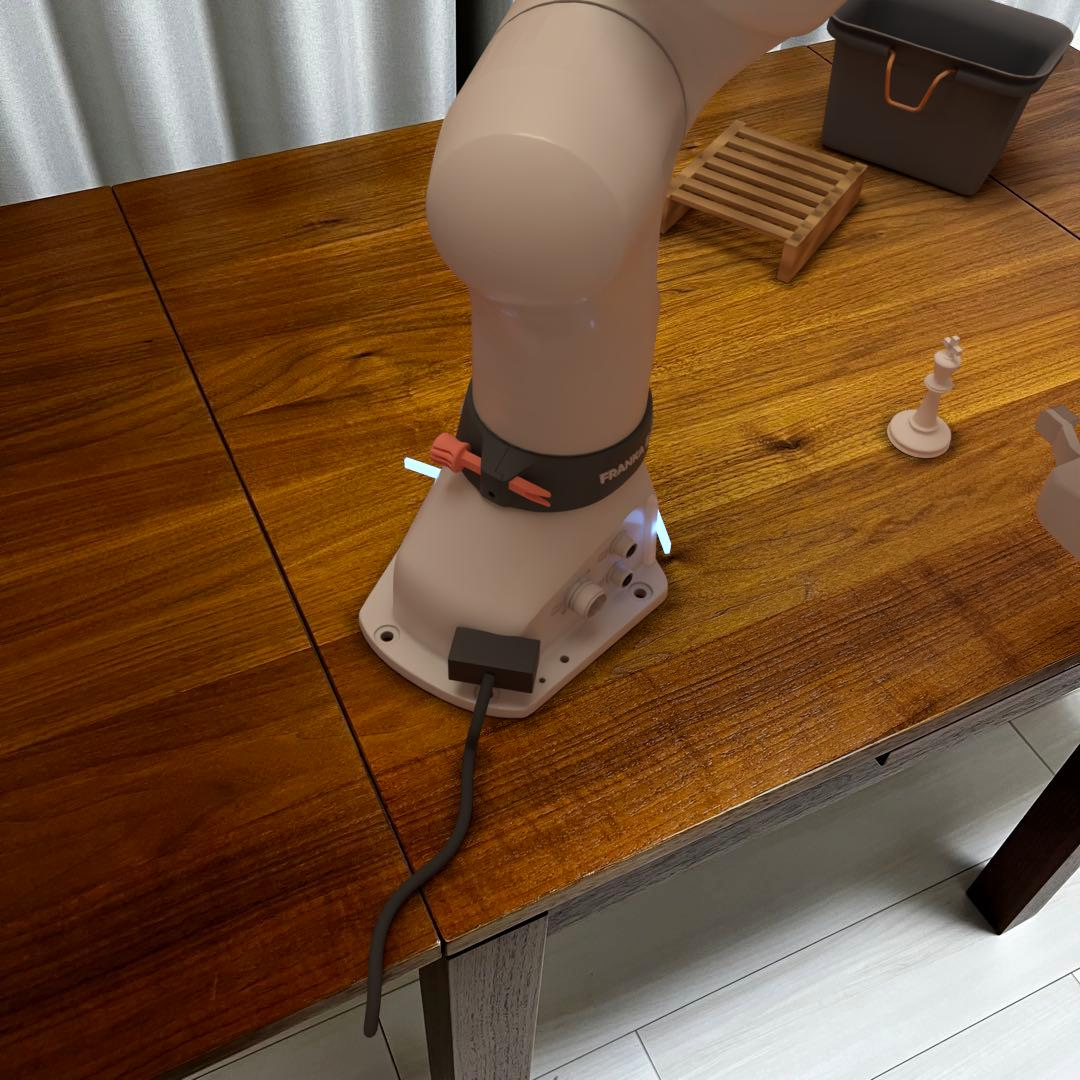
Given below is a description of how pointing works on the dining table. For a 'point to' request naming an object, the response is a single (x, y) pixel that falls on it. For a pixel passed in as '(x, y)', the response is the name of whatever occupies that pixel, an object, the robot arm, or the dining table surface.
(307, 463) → the dining table surface
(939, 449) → the chess piece
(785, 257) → the rack
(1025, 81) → the storage bin
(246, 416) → the dining table surface
